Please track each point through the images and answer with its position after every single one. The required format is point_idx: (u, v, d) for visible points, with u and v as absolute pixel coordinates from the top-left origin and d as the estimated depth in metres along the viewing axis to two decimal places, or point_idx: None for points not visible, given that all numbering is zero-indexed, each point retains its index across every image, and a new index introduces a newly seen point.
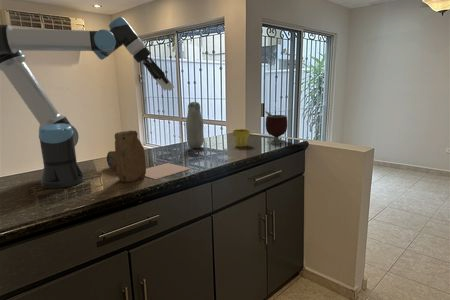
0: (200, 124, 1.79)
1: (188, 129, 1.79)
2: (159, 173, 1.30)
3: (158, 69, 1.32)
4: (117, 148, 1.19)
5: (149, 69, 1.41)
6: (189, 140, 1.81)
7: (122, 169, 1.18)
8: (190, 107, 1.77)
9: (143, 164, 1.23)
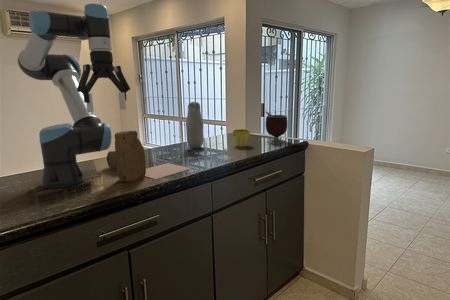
0: (200, 124, 1.79)
1: (188, 129, 1.79)
2: (159, 173, 1.30)
3: (81, 82, 1.03)
4: (117, 148, 1.19)
5: (108, 77, 1.13)
6: (189, 140, 1.81)
7: (122, 169, 1.18)
8: (190, 107, 1.77)
9: (143, 164, 1.23)
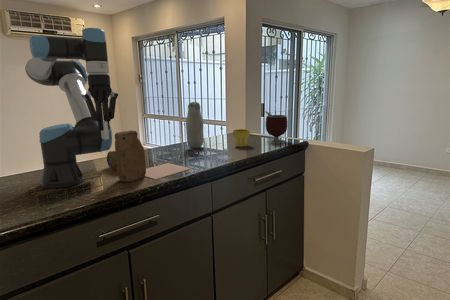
0: (200, 124, 1.79)
1: (188, 129, 1.79)
2: (159, 173, 1.30)
3: (91, 113, 1.08)
4: (117, 148, 1.19)
5: (101, 100, 1.12)
6: (189, 140, 1.81)
7: (122, 169, 1.18)
8: (190, 107, 1.77)
9: (143, 164, 1.23)
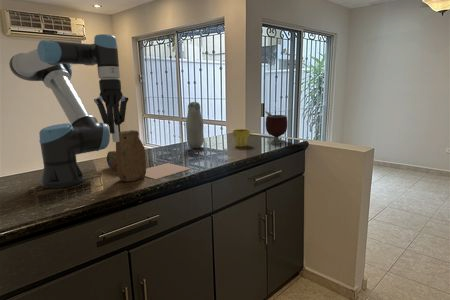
0: (200, 124, 1.79)
1: (188, 129, 1.79)
2: (159, 173, 1.30)
3: (103, 116, 1.12)
4: (118, 148, 1.19)
5: (112, 104, 1.15)
6: (189, 140, 1.81)
7: (122, 169, 1.18)
8: (190, 107, 1.77)
9: (143, 164, 1.24)
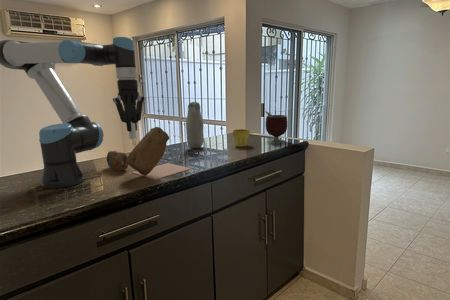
0: (200, 124, 1.79)
1: (188, 129, 1.79)
2: (159, 173, 1.30)
3: (121, 115, 1.17)
4: (147, 136, 1.28)
5: (129, 103, 1.21)
6: (189, 140, 1.81)
7: (138, 151, 1.23)
8: (190, 107, 1.77)
9: (154, 163, 1.27)
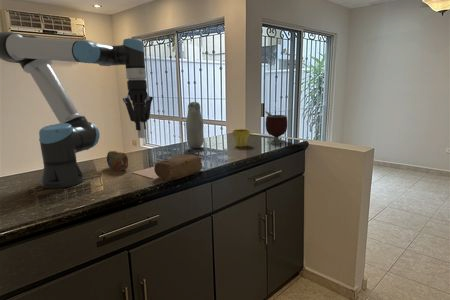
0: (200, 124, 1.79)
1: (188, 129, 1.79)
2: None
3: (130, 114, 1.21)
4: (194, 167, 1.29)
5: None
6: (189, 140, 1.81)
7: (180, 177, 1.23)
8: (190, 107, 1.77)
9: None
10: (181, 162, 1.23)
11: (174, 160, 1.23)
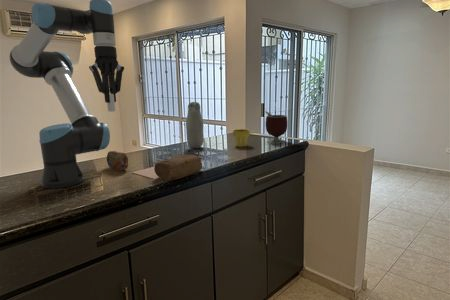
0: (200, 124, 1.79)
1: (188, 129, 1.79)
2: None
3: (98, 84, 1.10)
4: (194, 167, 1.29)
5: (108, 72, 1.14)
6: (189, 140, 1.81)
7: (180, 177, 1.23)
8: (190, 107, 1.77)
9: None
10: (181, 162, 1.23)
11: (174, 160, 1.23)
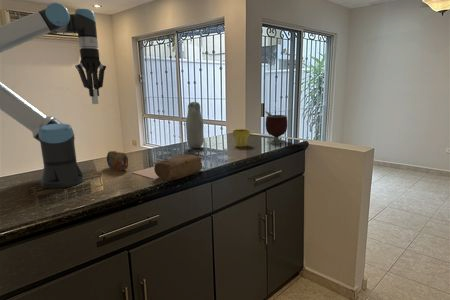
0: (200, 124, 1.79)
1: (188, 129, 1.79)
2: None
3: (83, 81, 1.30)
4: (194, 167, 1.29)
5: (92, 71, 1.33)
6: (189, 140, 1.81)
7: (180, 177, 1.23)
8: (190, 107, 1.77)
9: None
10: (181, 162, 1.23)
11: (174, 160, 1.23)
